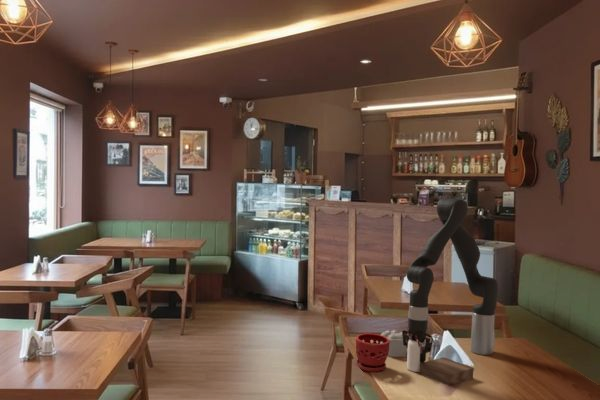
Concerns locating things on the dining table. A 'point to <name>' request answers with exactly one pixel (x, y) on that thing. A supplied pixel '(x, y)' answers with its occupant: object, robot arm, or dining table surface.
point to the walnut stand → (446, 371)
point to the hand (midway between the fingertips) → (416, 359)
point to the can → (413, 356)
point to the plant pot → (371, 352)
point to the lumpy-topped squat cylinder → (395, 344)
